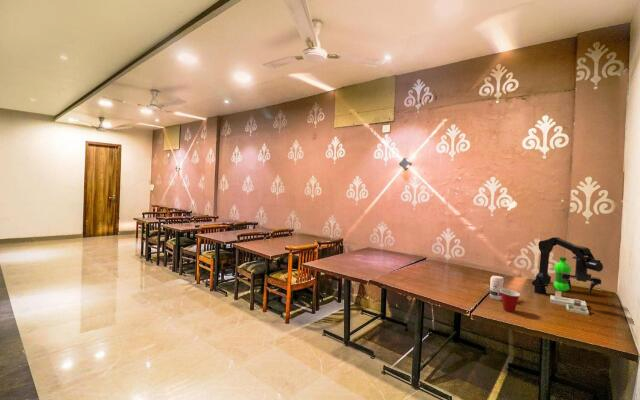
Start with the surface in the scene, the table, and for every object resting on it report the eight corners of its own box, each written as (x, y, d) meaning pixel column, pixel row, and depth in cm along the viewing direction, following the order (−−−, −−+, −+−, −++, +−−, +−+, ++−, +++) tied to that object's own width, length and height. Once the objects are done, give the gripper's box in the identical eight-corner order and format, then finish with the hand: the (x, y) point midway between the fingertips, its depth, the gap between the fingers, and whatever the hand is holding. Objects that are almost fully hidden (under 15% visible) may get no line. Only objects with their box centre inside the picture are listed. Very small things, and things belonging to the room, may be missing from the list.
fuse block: (550, 304, 201) (550, 299, 201) (550, 300, 209) (550, 294, 209) (586, 311, 190) (586, 305, 190) (584, 306, 198) (584, 300, 198)
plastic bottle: (568, 289, 232) (570, 257, 231) (571, 293, 223) (572, 259, 222) (552, 287, 237) (553, 255, 237) (553, 291, 229) (555, 258, 228)
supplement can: (501, 297, 213) (502, 276, 212) (504, 301, 205) (505, 279, 205) (488, 295, 216) (489, 274, 215) (491, 299, 208) (492, 278, 207)
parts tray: (567, 312, 188) (567, 308, 188) (566, 307, 196) (566, 303, 196) (588, 316, 182) (588, 312, 182) (586, 311, 190) (586, 307, 190)
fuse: (555, 302, 202) (555, 291, 202) (554, 300, 205) (555, 290, 204) (560, 303, 200) (561, 292, 200) (560, 301, 203) (561, 291, 203)
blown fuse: (573, 309, 191) (574, 298, 191) (579, 310, 189) (580, 299, 189) (573, 311, 189) (574, 299, 188) (580, 312, 187) (580, 301, 186)
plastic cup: (518, 315, 181) (519, 296, 181) (497, 310, 188) (498, 291, 188) (520, 310, 190) (521, 291, 189) (501, 306, 197) (501, 287, 196)
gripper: (562, 267, 191) (561, 291, 192) (603, 272, 180) (601, 298, 180) (562, 263, 200) (561, 286, 201) (600, 268, 188) (599, 293, 189)
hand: (579, 291), depth 192 cm, fingers open, 9 cm apart
